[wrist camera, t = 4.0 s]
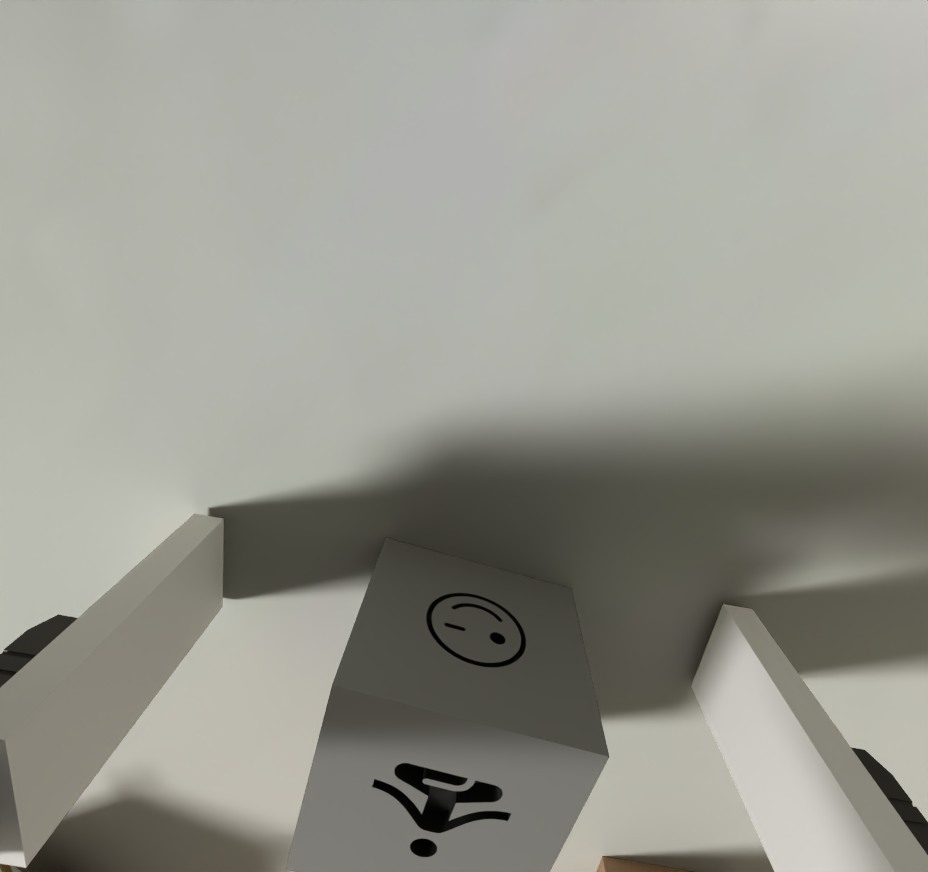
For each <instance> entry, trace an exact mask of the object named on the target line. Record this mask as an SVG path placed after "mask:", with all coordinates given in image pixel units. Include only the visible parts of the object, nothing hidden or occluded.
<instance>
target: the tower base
mask: <svg viewBox="0 0 928 872" xmlns="http://www.w3.org/2000/svg"><path fill="white" fill-rule="evenodd" d="M597 872H693V871H687V870H681V869H675V868H669V867H664V866H658V865H652V864H646V863H640V862H634V861H629V860H623V859H617V858H611V857H605V856H602V859H601V862H600V864H599V867H598V869H597Z"/></svg>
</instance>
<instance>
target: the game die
mask: <svg viewBox="0 0 928 872" xmlns="http://www.w3.org/2000/svg"><path fill="white" fill-rule="evenodd" d="M0 872H27V871H26V870H24V869H23V868H22V867H18V866H12V865H6V864H0Z"/></svg>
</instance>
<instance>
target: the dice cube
mask: <svg viewBox="0 0 928 872" xmlns="http://www.w3.org/2000/svg"><path fill="white" fill-rule="evenodd" d="M608 758H609V754H608V749H607V745H606V740H605V736H604V731H603V727H602V723H601V718H600V714H599V709H598V705H597V700H596V696H595V692H594V687H593V683H592V678H591V674H590V670H589V665H588V661H587V656H586V652H585V647H584V643H583V639H582V634H581V630H580V625H579V621H578V616H577V612H576V608H575V603H574V599H573V594H572V590H571V588H568V587H564V586H560V585H557V584H553V583H549V582H546V581H542V580H538V579H535V578H531V577H528V576H524V575H520V574H517V573H513V572H509V571H506V570H502V569H498V568H495V567H491V566H488V565H484V564H480V563H477V562H473V561H469V560H466V559H462V558H458V557H455V556H451V555H447V554H444V553H440V552H437V551H433V550H429V549H426V548H422V547H418V546H415V545H411V544H407V543H404V542H400V541H397V540H393V539H389V538H385V541H384V544H383V547H382V549H381V552H380V555H379V558H378V560H377V563H376V566H375V569H374V571H373V574H372V577H371V580H370V582H369V585H368V588H367V591H366V593H365V596H364V599H363V602H362V604H361V607H360V610H359V613H358V615H357V618H356V621H355V624H354V627H353V629H352V632H351V635H350V638H349V640H348V643H347V646H346V649H345V651H344V654H343V657H342V660H341V662H340V665H339V668H338V671H337V673H336V676H335V679H334V682H333V684H332V688H331V692H330V696H329V700H328V704H327V708H326V712H325V715H324V719H323V723H322V727H321V731H320V735H319V739H318V743H317V747H316V751H315V755H314V759H313V763H312V766H311V770H310V774H309V778H308V782H307V786H306V790H305V794H304V798H303V802H302V806H301V810H300V814H299V817H298V821H297V825H296V829H295V833H294V837H293V841H292V845H291V849H290V853H289V857H288V861H287V865H286V868H285V869H286V870H290V871H294V872H550V870H551V868H552V866H553V864H554V862H555V861H556V859H557V857H558V855H559V853H560V851H561V849H562V847H563V845H564V843H565V841H566V839H567V837H568V835H569V834H570V832H571V830H572V828H573V826H574V824H575V822H576V820H577V818H578V816H579V814H580V812H581V810H582V808H583V807H584V805H585V803H586V801H587V799H588V797H589V795H590V793H591V791H592V789H593V787H594V785H595V783H596V781H597V780H598V778H599V776H600V774H601V772H602V770H603V768H604V766H605V764H606V762H607V760H608Z"/></svg>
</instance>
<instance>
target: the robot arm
mask: <svg viewBox="0 0 928 872" xmlns="http://www.w3.org/2000/svg"><path fill="white" fill-rule="evenodd" d="M223 544H224V519H223V518H217V517H211V516H205V515H199V514H194V515H193V516H191V517H190V518H189V519H188V520H187V521H186V522H185V523H184V524H182V525H181V526H180V527H179V528H178V529H177V530H176V531H175V532H174V533H172V534H171V535H170V536H169V537H168V538H167V539H166V540H165V541H164V542H162V543H161V544H160V545H159V546H158V547H157V548H156V549H155V550H153V551H152V552H151V553H150V554H149V555H148V556H147V557H146V558H145V559H143V560H142V561H141V562H140V563H139V564H138V565H137V566H136V567H134V568H133V569H132V570H131V571H130V572H129V573H128V574H127V575H126V576H124V577H123V578H122V579H121V580H120V581H119V582H118V583H117V584H116V585H114V586H113V587H112V588H111V589H110V590H109V591H108V592H107V593H105V594H104V595H103V596H102V597H101V598H100V599H99V600H98V601H97V602H95V603H94V604H93V605H92V606H91V607H90V608H89V609H88V610H86V611H85V612H84V613H83V614H82V615H81V616H80V617H79V618H74V617H68V616H62V615H57V616H55V617H53V618H51V619H49V620H47V621H45V622H43V623H41V624H39V625H37V626H35V627H33V628H31V629H29V630H27V631H26V632H25V633H23V634H22V635H21V636H20V637H19V638H17V639H16V640H15V641H14V642H13V643H11V644H10V645H9V646H8V647H6V648H5V649H4V651H3V653H2V654H0V864H6V865H12V866H18V867H24V868H27V866H28V865H29V864H30V862H31V861H32V860H33V858H34V857H35V856H36V854H37V853H38V852H39V850H40V849H41V848H42V846H43V845H44V844H45V842H46V841H47V840H48V838H49V837H50V836H51V834H52V833H53V832H54V830H55V829H56V828H57V826H58V825H59V824H60V822H61V821H62V820H63V818H64V817H65V816H66V814H67V813H68V812H69V810H70V809H71V808H72V806H73V805H74V804H75V802H76V801H77V800H78V798H79V797H80V796H81V794H82V793H83V792H84V790H85V789H86V788H87V786H88V785H89V784H90V782H91V781H92V780H93V778H94V777H95V776H96V774H97V773H98V772H99V770H100V769H101V768H102V766H103V765H104V764H105V762H106V761H107V760H108V758H109V757H110V756H111V754H112V753H113V752H114V750H115V749H116V748H117V746H118V745H119V744H120V742H121V741H122V740H123V738H124V737H125V736H126V734H127V733H128V732H129V730H130V729H131V728H132V726H133V725H134V724H135V722H136V721H137V720H138V718H139V717H140V716H141V714H142V713H143V712H144V710H145V709H146V708H147V706H148V705H149V704H150V702H151V701H152V700H153V698H154V697H155V696H156V694H157V693H158V692H159V690H160V689H161V688H162V686H163V685H164V684H165V682H166V681H167V680H168V678H169V677H170V676H171V674H172V673H173V672H174V670H175V669H176V668H177V666H178V665H179V664H180V662H181V661H182V660H183V658H184V657H185V656H186V654H187V653H188V652H189V651H190V649H191V648H192V647H193V645H194V644H195V643H196V641H197V640H198V639H199V637H200V636H201V635H202V633H203V632H204V631H205V629H206V628H207V627H208V625H209V624H210V623H211V621H212V620H213V619H214V617H215V616H216V615H217V613H218V612H219V611H220V609H221V608H222V607H223ZM691 687H692V689H693V692H694V694H695V696H696V698H697V701H698V703H699V705H700V707H701V709H702V712H703V714H704V716H705V718H706V721H707V723H708V725H709V727H710V729H711V732H712V734H713V736H714V738H715V741H716V743H717V745H718V747H719V750H720V752H721V754H722V756H723V758H724V761H725V763H726V765H727V767H728V770H729V772H730V774H731V776H732V778H733V781H734V783H735V785H736V787H737V790H738V792H739V794H740V796H741V799H742V801H743V803H744V805H745V807H746V810H747V812H748V814H749V816H750V819H751V821H752V823H753V825H754V827H755V830H756V832H757V834H758V836H759V839H760V841H761V843H762V845H763V848H764V850H765V852H766V854H767V856H768V859H769V861H770V863H771V865H772V868H773V870H774V872H928V822H927V821H926V819H925V818H924V817H923V815H922V814H921V813H920V811H919V810H918V809H917V807H913V805H912V801H911V799H910V798H909V797H908V795H907V794H906V793H905V791H904V790H903V789H902V787H901V786H900V785H899V783H898V782H897V781H896V779H895V778H894V777H893V775H892V774H891V773H890V772H888V771H887V770H886V769H885V768H884V767H883V766H882V765H881V764H880V763H879V762H877V761H876V760H875V759H874V758H873V757H872V756H871V755H870V754H869V753H868V752H866V751H865V750H862V749H856V748H851V747H850V746H849V744H848V743H847V741H846V740H845V739H844V737H843V736H842V734H841V733H840V732H839V730H838V729H837V727H836V726H835V725H834V723H833V722H832V720H831V719H830V718H829V716H828V715H827V713H826V712H825V711H824V709H823V708H822V706H821V705H820V704H819V702H818V701H817V699H816V698H815V696H814V695H813V694H812V692H811V691H810V689H809V688H808V687H807V685H806V684H805V682H804V681H803V680H802V678H801V677H800V675H799V674H798V673H797V671H796V670H795V668H794V667H793V666H792V664H791V663H790V661H789V660H788V659H787V657H786V656H785V654H784V653H783V652H782V650H781V649H780V647H779V646H778V645H777V643H776V642H775V640H774V639H773V638H772V636H771V635H770V633H769V632H768V631H767V629H766V628H765V626H764V625H763V624H762V622H761V621H760V619H759V618H758V617H757V615H756V614H755V612H754V611H753V610H752V609H749V608H743V607H737V606H732V605H726V604H723V606H722V608H721V611H720V613H719V616H718V619H717V621H716V624H715V626H714V629H713V631H712V634H711V636H710V639H709V642H708V644H707V647H706V649H705V652H704V654H703V657H702V659H701V662H700V665H699V667H698V670H697V672H696V675H695V677H694V680H693V682H692V685H691Z"/></svg>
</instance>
